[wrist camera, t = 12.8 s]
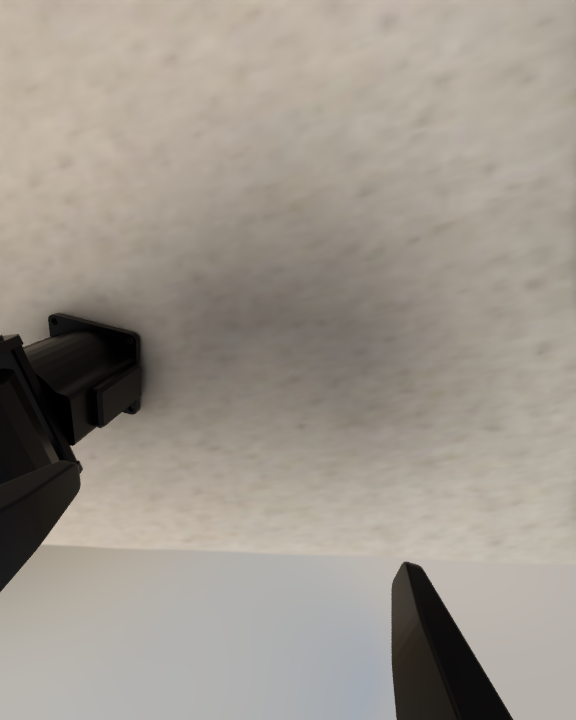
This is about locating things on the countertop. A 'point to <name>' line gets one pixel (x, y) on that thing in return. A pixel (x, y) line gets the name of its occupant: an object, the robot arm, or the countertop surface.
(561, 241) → the countertop surface
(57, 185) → the countertop surface
